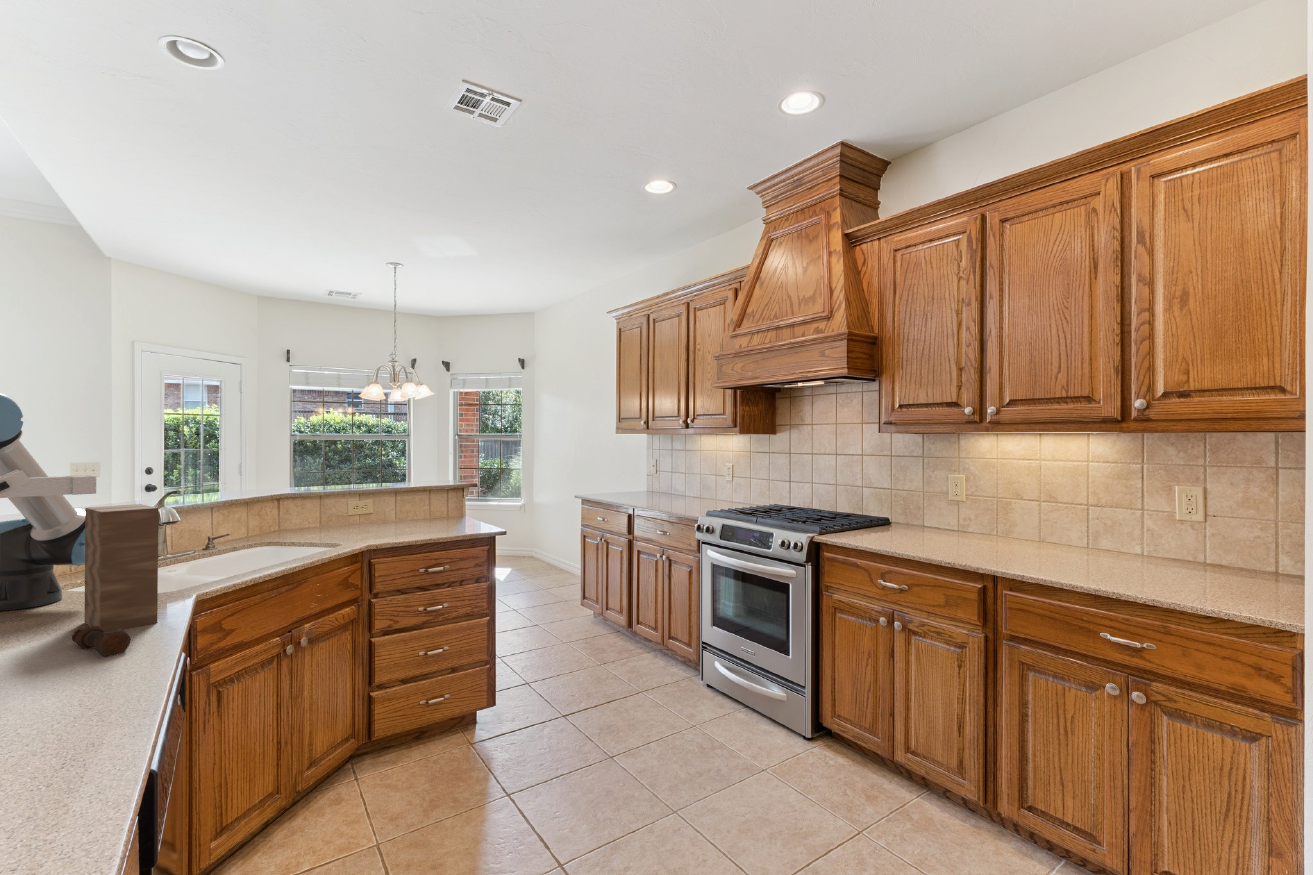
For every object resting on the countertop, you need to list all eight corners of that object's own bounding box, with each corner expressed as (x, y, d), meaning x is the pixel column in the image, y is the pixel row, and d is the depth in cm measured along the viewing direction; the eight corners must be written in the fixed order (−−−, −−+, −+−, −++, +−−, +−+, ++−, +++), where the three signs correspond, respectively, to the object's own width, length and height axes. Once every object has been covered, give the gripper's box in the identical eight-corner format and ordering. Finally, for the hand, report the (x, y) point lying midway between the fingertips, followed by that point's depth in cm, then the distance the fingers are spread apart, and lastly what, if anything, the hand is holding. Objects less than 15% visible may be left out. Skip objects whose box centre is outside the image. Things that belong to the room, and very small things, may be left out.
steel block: (-38, 498, 130) (-38, 479, 130) (88, 491, 146) (88, 475, 146) (-33, 500, 126) (-33, 481, 126) (96, 493, 142) (96, 476, 142)
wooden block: (84, 622, 148) (85, 507, 148) (139, 612, 157) (140, 504, 157) (100, 633, 140) (101, 512, 140) (157, 622, 149) (158, 508, 149)
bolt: (84, 651, 134) (119, 660, 127) (58, 646, 130) (93, 655, 124) (101, 625, 137) (136, 632, 130) (75, 619, 133) (110, 626, 126)
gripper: (-114, 550, 125) (27, 487, 141) (-107, 560, 115) (44, 491, 131) (-144, 520, 122) (4, 459, 138) (-139, 528, 112) (19, 461, 128)
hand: (23, 475), depth 135 cm, fingers closed on steel block, 4 cm apart
